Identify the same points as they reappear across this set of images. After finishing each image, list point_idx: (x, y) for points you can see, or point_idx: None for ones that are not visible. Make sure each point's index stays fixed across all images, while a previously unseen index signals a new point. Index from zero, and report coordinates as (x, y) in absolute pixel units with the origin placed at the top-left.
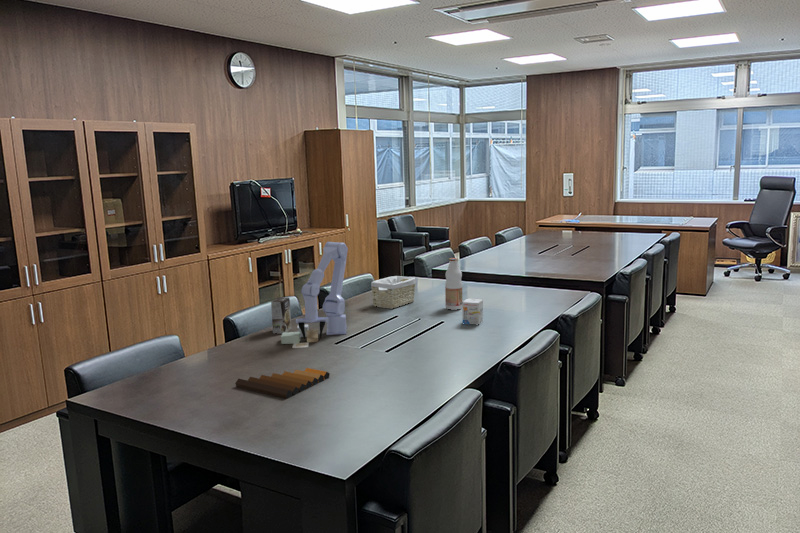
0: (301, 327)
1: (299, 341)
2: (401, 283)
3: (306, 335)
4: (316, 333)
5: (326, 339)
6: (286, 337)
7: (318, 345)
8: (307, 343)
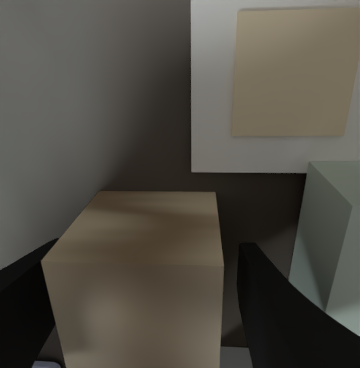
0: (351, 358)
1: (302, 214)
2: None
3: (227, 362)
4: (69, 245)
5: None
6: None
7: (68, 53)
8: (207, 133)
